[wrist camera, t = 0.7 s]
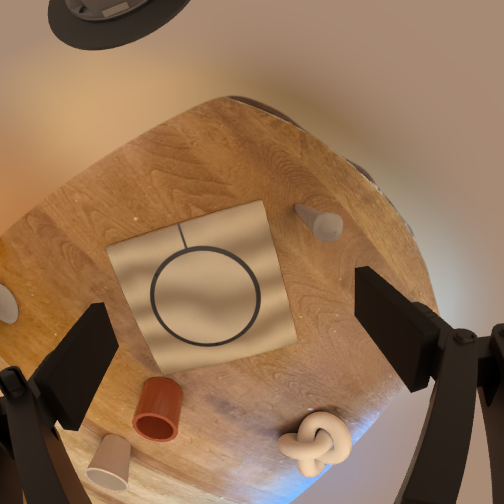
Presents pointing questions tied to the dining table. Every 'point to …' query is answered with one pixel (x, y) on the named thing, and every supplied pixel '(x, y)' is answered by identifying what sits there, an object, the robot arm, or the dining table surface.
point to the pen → (321, 222)
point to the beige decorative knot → (317, 443)
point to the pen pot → (158, 410)
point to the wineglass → (8, 306)
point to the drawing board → (206, 288)
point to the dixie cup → (111, 464)
